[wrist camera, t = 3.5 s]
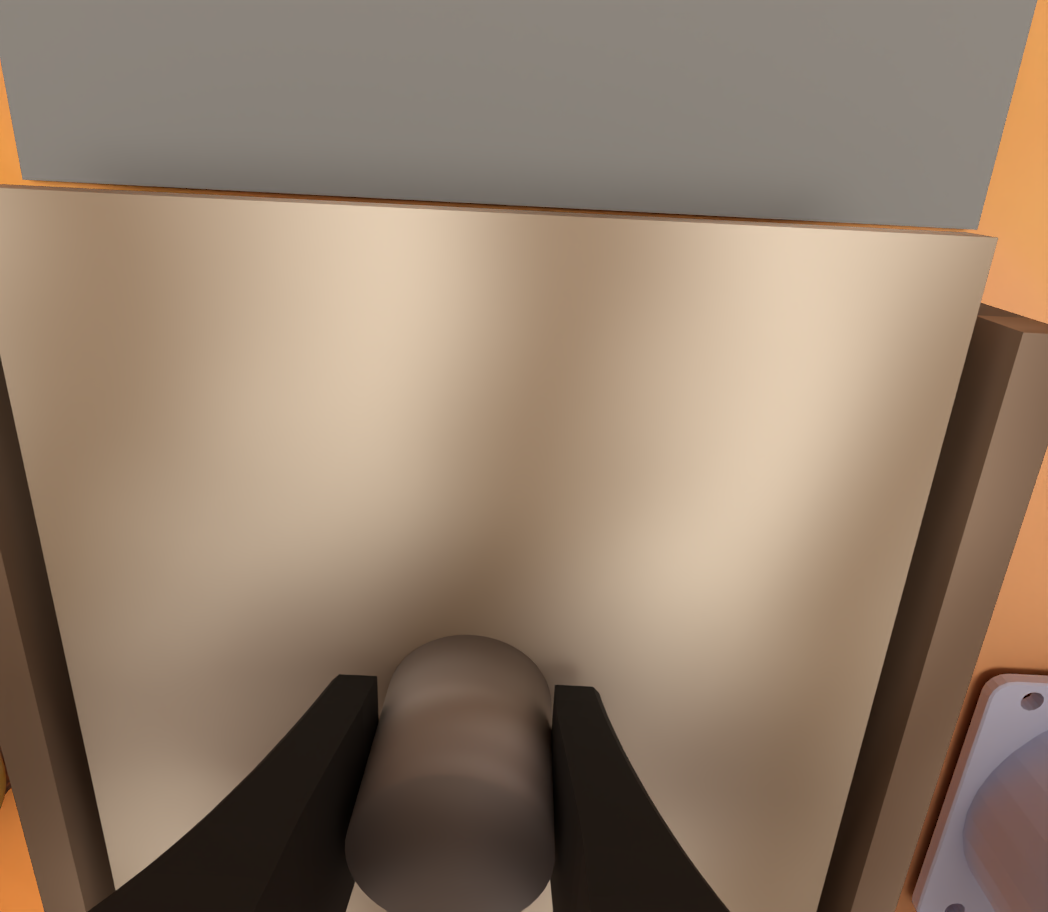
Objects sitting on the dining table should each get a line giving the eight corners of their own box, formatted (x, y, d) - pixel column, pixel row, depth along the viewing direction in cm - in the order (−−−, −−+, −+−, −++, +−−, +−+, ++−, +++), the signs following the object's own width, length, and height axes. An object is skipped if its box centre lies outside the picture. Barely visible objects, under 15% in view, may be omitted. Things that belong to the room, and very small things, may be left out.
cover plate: (965, 232, 11) (1180, 267, 7) (773, 987, 16) (839, 1215, 13) (4, 184, 11) (-265, 195, 7) (156, 958, 16) (51, 1176, 13)
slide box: (904, 278, 15) (1084, 336, 10) (755, 918, 21) (819, 1140, 16) (93, 236, 15) (-125, 272, 10) (196, 889, 21) (95, 1103, 16)
